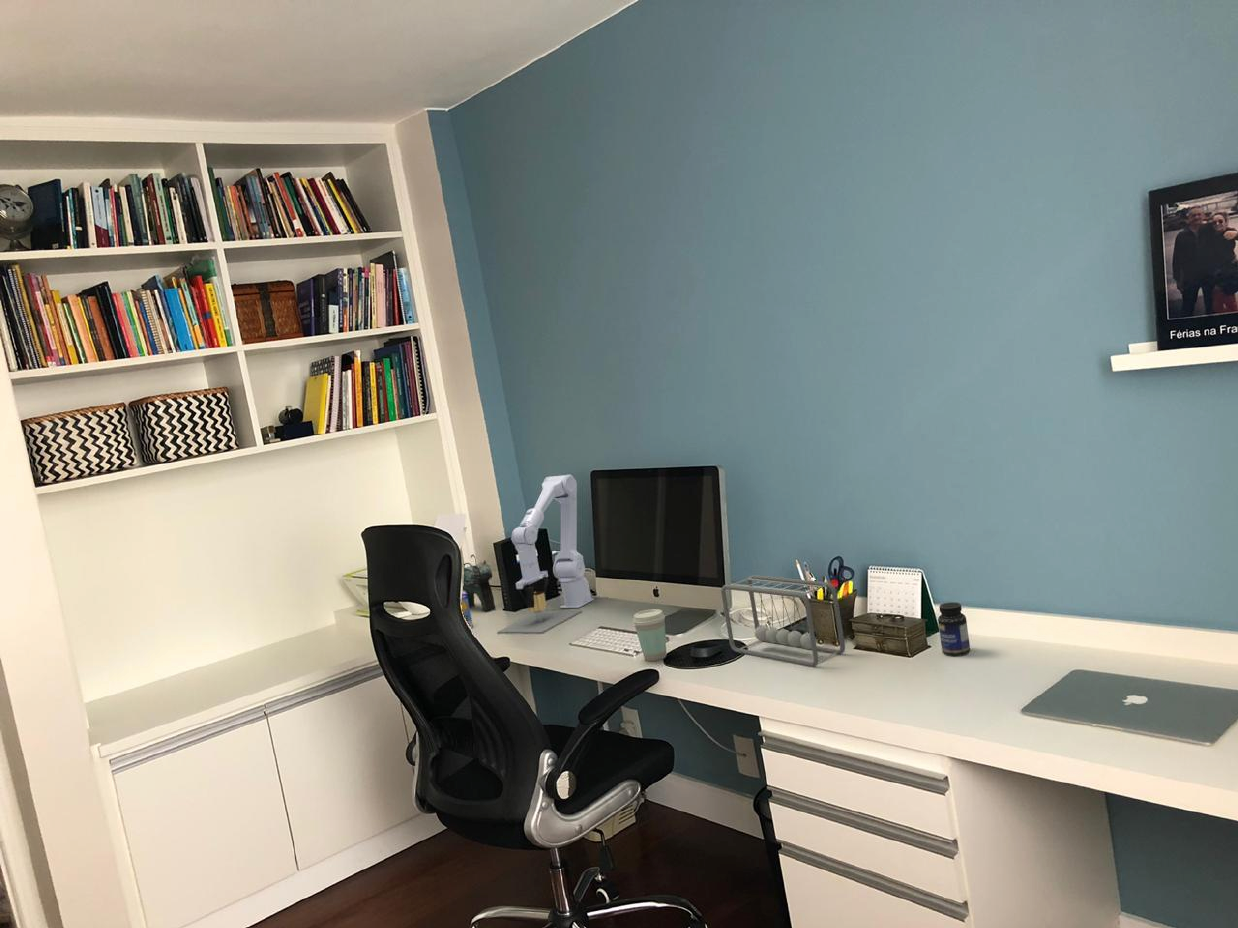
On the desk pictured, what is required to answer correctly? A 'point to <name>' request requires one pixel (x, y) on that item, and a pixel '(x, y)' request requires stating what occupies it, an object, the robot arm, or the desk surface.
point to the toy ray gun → (479, 585)
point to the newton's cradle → (783, 635)
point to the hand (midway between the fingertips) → (536, 604)
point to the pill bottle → (953, 630)
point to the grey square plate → (539, 622)
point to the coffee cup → (651, 633)
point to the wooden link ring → (538, 601)
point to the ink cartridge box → (466, 609)
